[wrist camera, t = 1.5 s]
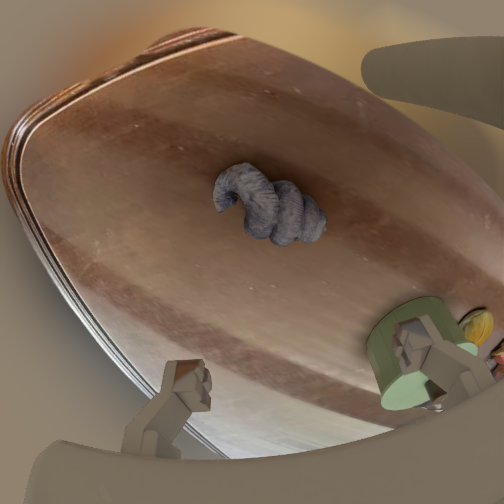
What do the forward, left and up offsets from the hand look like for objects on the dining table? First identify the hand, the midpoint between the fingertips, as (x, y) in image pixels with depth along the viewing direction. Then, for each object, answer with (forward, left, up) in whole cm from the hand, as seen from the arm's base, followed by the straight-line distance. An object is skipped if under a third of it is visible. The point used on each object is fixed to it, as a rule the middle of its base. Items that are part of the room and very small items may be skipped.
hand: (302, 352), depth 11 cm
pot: (-17, +23, -16) cm, 33 cm away
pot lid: (-17, +23, -8) cm, 30 cm away
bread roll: (-31, +27, -16) cm, 44 cm away
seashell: (0, 0, -16) cm, 16 cm away
